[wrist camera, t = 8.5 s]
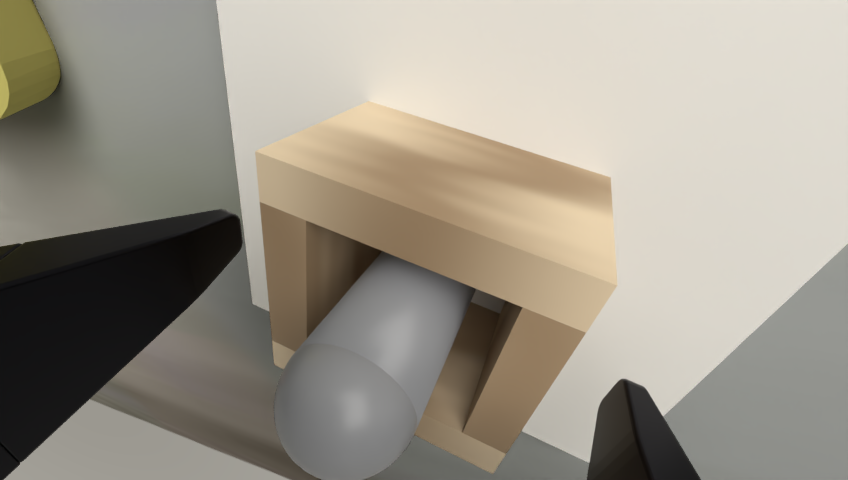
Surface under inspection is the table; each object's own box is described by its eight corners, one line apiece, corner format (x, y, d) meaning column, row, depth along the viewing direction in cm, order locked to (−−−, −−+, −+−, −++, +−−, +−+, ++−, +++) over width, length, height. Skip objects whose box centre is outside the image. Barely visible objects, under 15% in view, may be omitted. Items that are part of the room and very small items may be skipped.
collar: (610, 177, 8) (617, 285, 5) (521, 347, 12) (492, 474, 9) (369, 101, 10) (255, 150, 6) (352, 276, 13) (274, 364, 10)
